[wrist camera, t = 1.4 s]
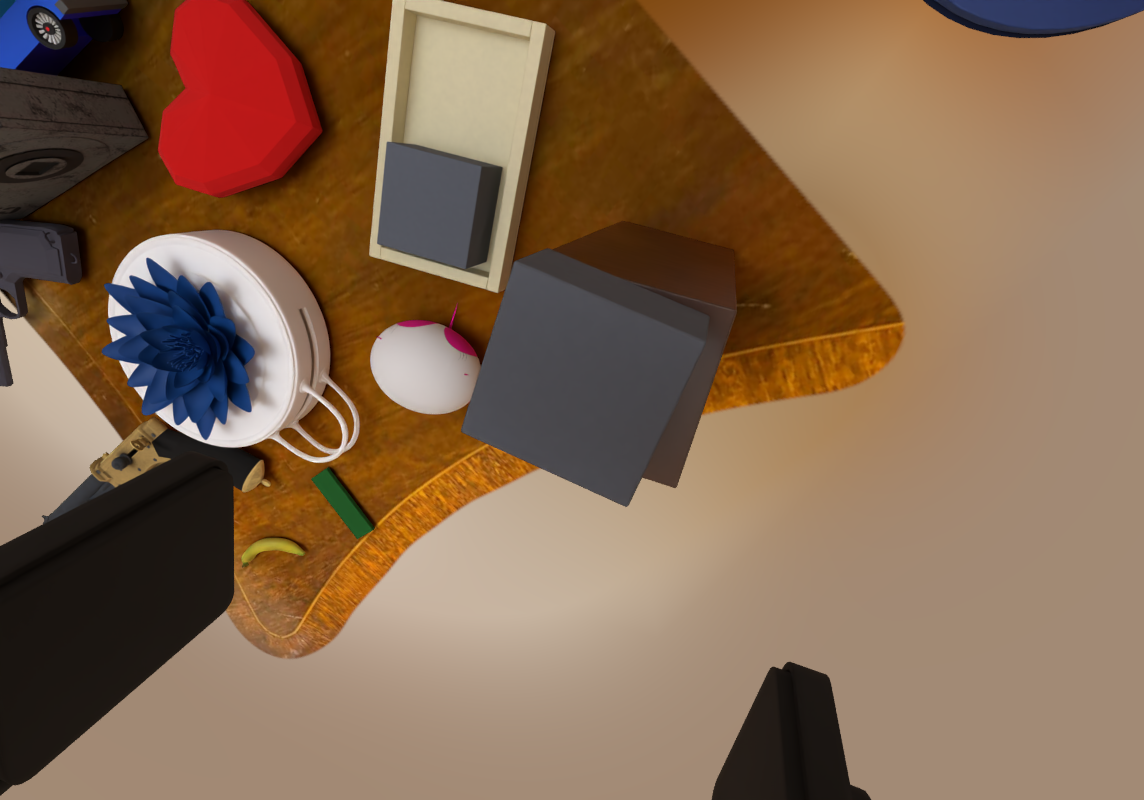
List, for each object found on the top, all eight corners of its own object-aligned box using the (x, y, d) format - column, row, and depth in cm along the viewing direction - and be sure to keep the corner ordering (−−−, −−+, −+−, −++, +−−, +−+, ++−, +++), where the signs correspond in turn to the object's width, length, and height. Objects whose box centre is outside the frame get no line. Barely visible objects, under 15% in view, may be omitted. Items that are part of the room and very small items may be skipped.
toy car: (52, 112, 45) (-12, 46, 43) (148, 16, 41) (82, -63, 39) (-27, 133, 40) (-105, 59, 38) (73, 26, 36) (-8, -66, 33)
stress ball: (512, 340, 45) (505, 310, 39) (466, 438, 44) (450, 424, 37) (420, 301, 46) (398, 265, 39) (372, 396, 44) (340, 375, 38)
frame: (555, 31, 35) (546, 23, 33) (507, 288, 40) (497, 293, 39) (409, -2, 36) (393, -11, 34) (383, 252, 42) (368, 255, 40)
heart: (353, 41, 39) (208, -3, 39) (320, 15, 35) (158, -34, 35) (318, 225, 42) (183, 183, 42) (284, 221, 38) (134, 175, 38)
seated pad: (503, 166, 37) (482, 166, 34) (486, 262, 40) (465, 269, 37) (414, 144, 38) (386, 141, 35) (404, 238, 41) (376, 243, 37)
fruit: (295, 543, 52) (305, 572, 52) (304, 535, 53) (313, 565, 54) (228, 541, 53) (239, 570, 54) (238, 534, 54) (248, 563, 55)
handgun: (86, 226, 46) (-55, 175, 47) (58, 232, 44) (-88, 179, 45) (108, 415, 55) (-10, 370, 56) (86, 427, 53) (-36, 380, 54)
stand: (734, 249, 36) (737, 310, 20) (698, 357, 39) (675, 489, 23) (622, 220, 37) (537, 254, 21) (595, 327, 40) (501, 432, 24)
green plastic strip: (331, 465, 49) (316, 475, 50) (325, 468, 49) (311, 479, 50) (377, 526, 50) (361, 535, 51) (372, 530, 50) (357, 539, 50)
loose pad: (710, 315, 20) (707, 342, 17) (641, 461, 23) (627, 508, 19) (547, 247, 21) (513, 260, 17) (496, 396, 23) (459, 432, 20)
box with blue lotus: (43, 360, 43) (258, 544, 44) (112, 183, 37) (362, 404, 38) (130, 336, 49) (316, 498, 51) (202, 182, 43) (414, 371, 44)
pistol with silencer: (149, 575, 62) (59, 502, 59) (292, 465, 51) (192, 370, 48) (115, 607, 58) (16, 531, 55) (262, 495, 48) (151, 395, 45)
